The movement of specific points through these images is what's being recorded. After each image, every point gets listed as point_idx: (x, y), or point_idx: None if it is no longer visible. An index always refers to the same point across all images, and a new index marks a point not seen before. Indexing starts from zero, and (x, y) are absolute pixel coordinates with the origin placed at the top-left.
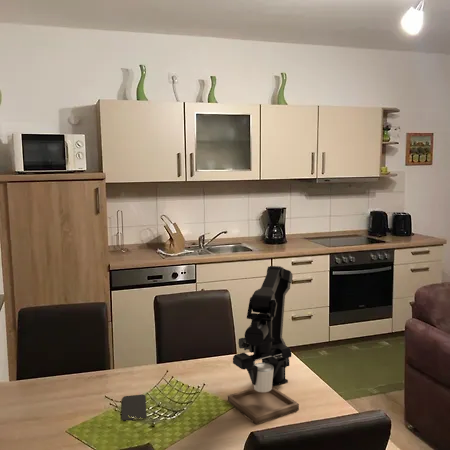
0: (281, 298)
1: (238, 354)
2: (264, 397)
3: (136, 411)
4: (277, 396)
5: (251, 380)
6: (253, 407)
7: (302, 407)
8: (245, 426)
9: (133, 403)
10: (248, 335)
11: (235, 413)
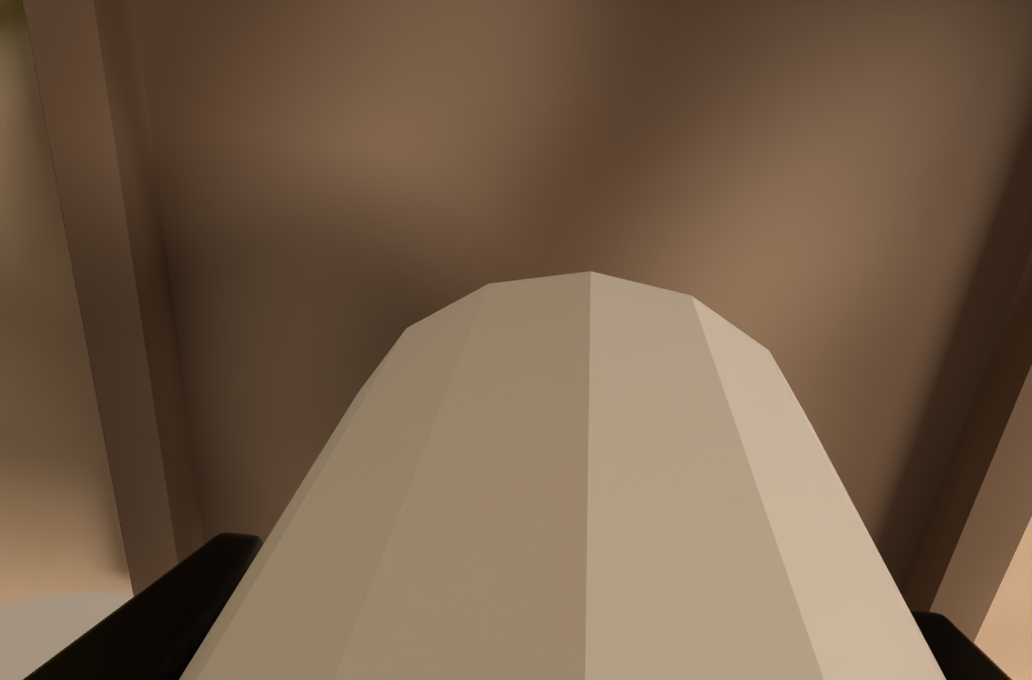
0: None
1: None
2: (770, 158)
3: None
4: (997, 281)
5: (134, 617)
6: (346, 314)
7: (1006, 636)
8: (36, 524)
9: None
10: None
11: (32, 199)
